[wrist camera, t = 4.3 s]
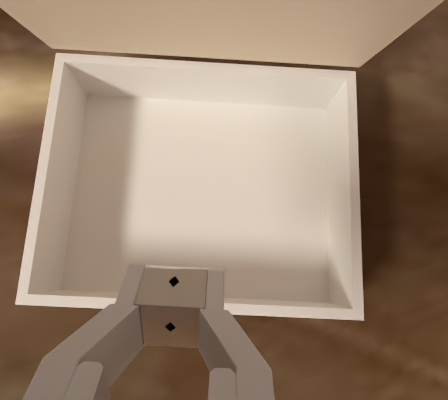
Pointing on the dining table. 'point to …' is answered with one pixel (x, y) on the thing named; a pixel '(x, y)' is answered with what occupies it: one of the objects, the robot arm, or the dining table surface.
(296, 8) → the mailer lid
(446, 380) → the dining table surface
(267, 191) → the tray
